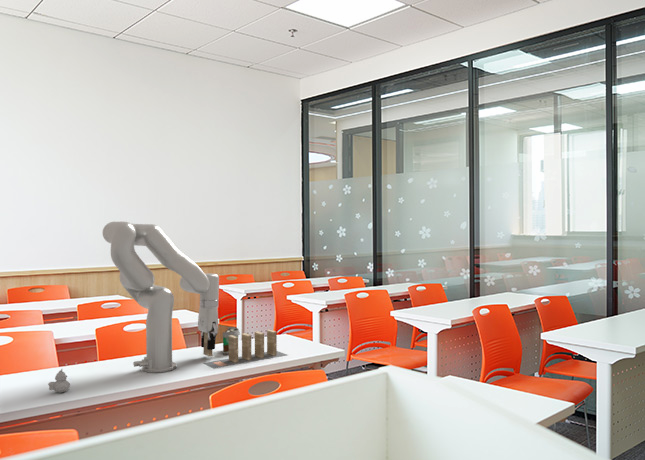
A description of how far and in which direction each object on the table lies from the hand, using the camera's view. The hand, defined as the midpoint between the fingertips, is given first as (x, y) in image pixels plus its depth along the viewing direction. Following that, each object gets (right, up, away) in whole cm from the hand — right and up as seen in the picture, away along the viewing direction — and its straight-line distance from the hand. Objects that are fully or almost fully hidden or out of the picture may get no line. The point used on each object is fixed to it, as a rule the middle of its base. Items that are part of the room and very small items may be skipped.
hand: (208, 347), depth 224 cm
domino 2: (+11, -4, -5) cm, 13 cm away
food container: (+8, -5, +10) cm, 14 cm away
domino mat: (+16, -5, -1) cm, 17 cm away
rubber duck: (-40, -6, -43) cm, 59 cm away
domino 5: (+26, -4, +6) cm, 27 cm away
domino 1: (0, -3, 0) cm, 3 cm away
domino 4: (+21, -4, +2) cm, 21 cm away
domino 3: (+16, -4, -1) cm, 17 cm away
